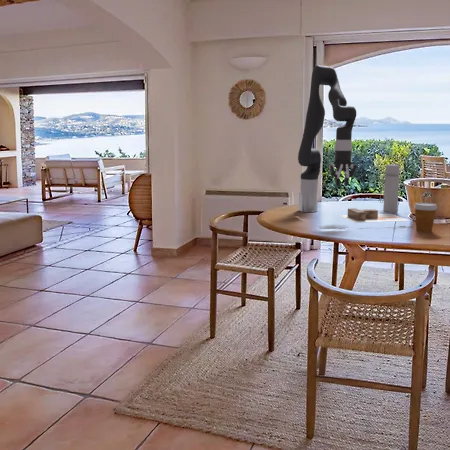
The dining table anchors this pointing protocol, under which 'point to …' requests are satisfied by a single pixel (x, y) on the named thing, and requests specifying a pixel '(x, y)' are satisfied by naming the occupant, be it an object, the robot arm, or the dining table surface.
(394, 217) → the board
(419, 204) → the disposable coffee cup
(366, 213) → the tee block
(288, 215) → the dining table surface
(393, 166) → the water bottle
